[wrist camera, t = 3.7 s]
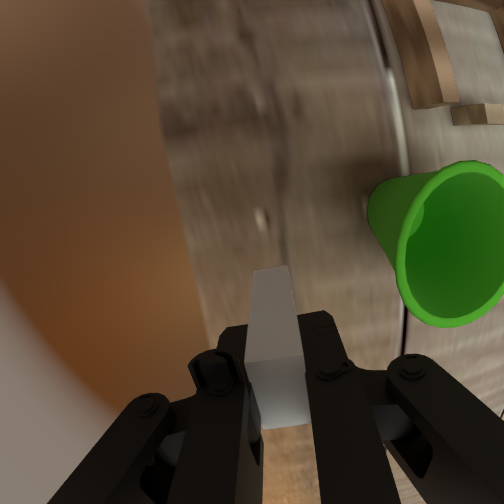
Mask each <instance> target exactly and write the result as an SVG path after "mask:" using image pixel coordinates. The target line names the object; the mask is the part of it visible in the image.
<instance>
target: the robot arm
mask: <svg viewBox="0 0 504 504" xmlns="http://www.w3.org/2000/svg"><path fill="white" fill-rule="evenodd" d="M188 368H189V371H190V373H191V376H192V378H193V381H194V383H195V386H196V388H197V391H196V394H195V395H193V396H191V397H188V398H186V399H182V400H178V401H175V402H171V403H170V402H169V400H168V399H167V398H166V397H165V396H164V395H162V394H159V393H147V394H143V395H141V396H139V397H137V398H135V399H133V400H132V401H131V402H130V403H129V404H128V405H127V406H126V408H125V409H124V410H123V411H122V412H121V414H120V415H119V416H118V417H117V419H116V420H115V421H114V422H113V423H112V425H111V426H110V427H109V428H108V430H107V431H106V432H105V433H104V434H103V436H102V437H101V438H100V439H99V441H98V442H97V443H96V444H95V446H94V447H93V448H92V449H91V451H90V452H89V453H88V454H87V455H86V457H85V458H84V459H83V460H82V462H81V463H80V464H79V465H78V466H77V468H76V469H75V470H74V471H73V472H72V474H71V475H70V476H69V477H68V479H67V480H66V481H65V482H64V483H63V485H62V486H61V487H60V488H59V490H58V491H57V492H56V493H55V495H54V496H53V497H52V498H51V499H50V501H49V502H48V503H47V504H262V494H263V451H264V443H263V439H262V435H261V423H262V426H263V430H264V429H273V428H281V427H289V426H296V425H303V424H309V423H312V430H313V438H314V446H315V454H316V462H317V470H318V479H319V488H320V497H321V504H401V501H400V498H399V494H398V491H397V487H396V484H395V481H394V477H393V474H392V471H391V468H390V464H389V461H388V458H387V455H386V452H385V449H384V446H383V444H384V445H385V446H386V448H387V449H388V451H389V452H390V453H391V455H392V456H393V458H394V459H395V460H396V462H397V463H398V465H399V466H400V467H401V469H402V470H403V471H404V473H405V474H406V476H407V477H408V478H409V480H410V481H411V483H412V484H413V485H414V487H415V488H416V490H417V491H418V492H419V494H420V495H421V496H422V498H423V499H424V501H425V502H426V503H427V504H504V421H503V420H502V419H501V418H500V417H499V416H497V415H496V414H495V413H494V412H493V411H492V410H491V409H490V408H488V407H487V406H486V405H485V404H484V403H483V402H482V401H480V400H479V399H478V398H477V397H476V396H475V395H473V394H472V393H471V392H470V391H469V390H468V389H466V388H465V387H464V386H463V385H462V384H461V383H459V382H458V381H457V380H456V379H455V378H454V377H452V376H451V375H450V374H449V373H448V372H446V371H445V370H444V369H443V368H442V367H441V366H439V365H438V364H437V363H436V362H435V361H433V360H432V359H430V358H429V357H427V356H425V355H420V354H406V355H403V356H400V357H397V358H396V359H394V360H393V361H391V363H390V364H389V366H388V367H387V370H365V369H361V368H359V367H357V366H355V364H354V363H353V362H352V361H351V360H349V359H348V357H347V354H346V351H345V349H344V346H343V343H342V341H341V338H340V335H339V333H338V330H337V327H336V325H335V322H334V319H333V317H332V316H331V315H330V314H329V313H327V312H326V311H324V310H322V311H317V312H312V313H306V314H301V315H297V314H296V308H295V303H294V297H293V292H292V286H291V281H290V276H289V270H288V265H284V266H278V267H273V268H267V269H262V270H256V271H254V274H253V284H252V293H251V302H250V312H249V321H248V324H246V325H239V326H232V327H227V328H226V329H225V330H224V331H223V332H222V334H221V335H220V336H219V340H218V346H217V349H212V350H207V351H205V352H203V353H200V354H198V355H197V356H196V357H194V358H193V359H192V360H191V361H190V363H189V364H188ZM382 441H383V442H382Z"/></svg>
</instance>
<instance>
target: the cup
mask: <svg viewBox="0 0 504 504" xmlns="http://www.w3.org/2000/svg"><path fill="white" fill-rule="evenodd" d="M367 216H368V221H369V224H370V226H371V228H372V230H373V232H374V234H375V236H376V237H377V239H378V241H379V243H380V245H381V246H382V248H383V250H384V252H385V254H386V256H387V257H388V259H389V261H390V263H391V265H392V267H393V269H394V271H395V276H396V284H397V288H398V290H399V293H400V295H401V298H402V300H403V303H404V304H405V305H406V307H407V308H408V309H409V311H410V312H411V313H412V314H413V316H415V317H416V318H418V319H419V320H421V321H422V322H424V323H425V324H428V325H432V326H436V327H440V328H451V327H459V326H462V325H465V324H468V323H471V322H473V321H474V320H476V319H478V318H480V317H481V316H483V315H484V314H486V313H487V312H488V311H489V310H490V309H491V308H492V307H493V306H494V305H495V304H497V302H498V301H499V300H500V299H501V297H502V296H503V295H504V175H503V174H502V173H501V172H499V171H498V170H497V169H495V168H494V167H492V166H491V165H489V164H486V163H483V162H479V161H476V160H469V161H458V162H455V163H453V164H451V165H448V166H446V167H443V168H442V169H440V170H439V171H435V172H428V173H422V174H416V175H409V176H403V177H397V178H391V179H389V180H386V181H384V182H382V183H381V184H380V185H378V186H377V188H376V189H375V190H374V191H373V193H372V195H371V197H370V199H369V203H368V207H367Z"/></svg>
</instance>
